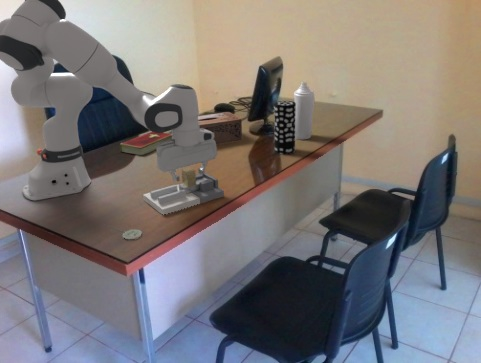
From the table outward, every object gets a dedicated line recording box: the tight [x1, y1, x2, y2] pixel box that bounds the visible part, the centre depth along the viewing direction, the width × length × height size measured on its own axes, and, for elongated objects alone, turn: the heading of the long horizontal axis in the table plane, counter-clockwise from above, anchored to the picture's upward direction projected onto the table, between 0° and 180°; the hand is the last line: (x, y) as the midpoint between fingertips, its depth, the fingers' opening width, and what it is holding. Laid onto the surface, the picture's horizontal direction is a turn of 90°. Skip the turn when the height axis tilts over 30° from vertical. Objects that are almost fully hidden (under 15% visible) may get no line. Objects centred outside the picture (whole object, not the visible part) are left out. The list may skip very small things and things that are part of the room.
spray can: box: [293, 81, 316, 140], centre depth 203 cm, size 12×11×25 cm
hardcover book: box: [119, 131, 172, 156], centre depth 202 cm, size 12×21×4 cm, turn 148°
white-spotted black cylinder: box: [274, 100, 296, 156], centre depth 187 cm, size 8×8×20 cm
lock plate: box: [142, 172, 225, 216], centre depth 151 cm, size 22×14×5 cm, turn 126°
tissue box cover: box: [198, 111, 243, 146], centre depth 206 cm, size 26×14×10 cm, turn 114°
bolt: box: [179, 166, 209, 193], centre depth 152 cm, size 10×4×7 cm, turn 126°
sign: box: [102, 223, 143, 240], centre depth 132 cm, size 5×1×15 cm
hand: (189, 177), depth 151 cm, fingers open, 8 cm apart
